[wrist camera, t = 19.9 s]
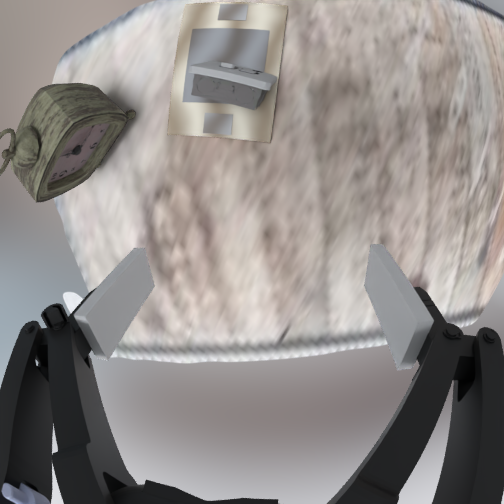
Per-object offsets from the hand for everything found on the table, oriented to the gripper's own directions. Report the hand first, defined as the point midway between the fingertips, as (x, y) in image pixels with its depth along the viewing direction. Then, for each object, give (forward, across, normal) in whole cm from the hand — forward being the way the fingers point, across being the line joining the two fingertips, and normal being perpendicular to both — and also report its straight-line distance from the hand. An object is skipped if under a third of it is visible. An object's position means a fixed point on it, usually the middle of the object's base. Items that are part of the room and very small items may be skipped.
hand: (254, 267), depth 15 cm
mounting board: (+27, -5, +17) cm, 32 cm away
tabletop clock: (+27, -26, +11) cm, 39 cm away
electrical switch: (+25, -3, +14) cm, 29 cm away
